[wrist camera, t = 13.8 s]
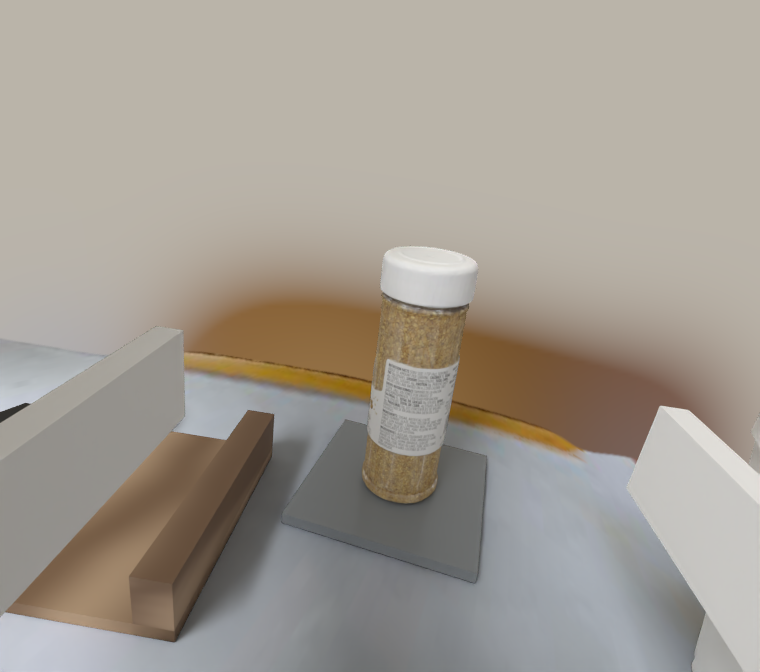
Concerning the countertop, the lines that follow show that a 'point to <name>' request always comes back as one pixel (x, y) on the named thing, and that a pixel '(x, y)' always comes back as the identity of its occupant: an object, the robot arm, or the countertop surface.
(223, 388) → the countertop surface
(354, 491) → the slate coaster
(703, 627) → the foam cup
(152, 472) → the walnut cradle
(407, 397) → the spice jar
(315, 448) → the countertop surface
